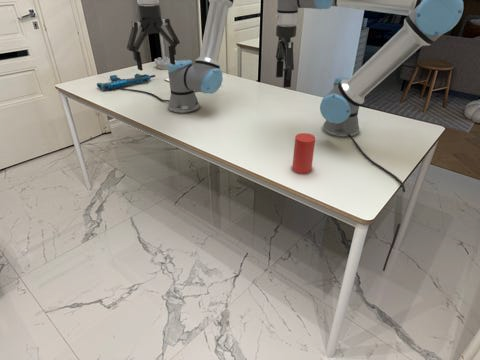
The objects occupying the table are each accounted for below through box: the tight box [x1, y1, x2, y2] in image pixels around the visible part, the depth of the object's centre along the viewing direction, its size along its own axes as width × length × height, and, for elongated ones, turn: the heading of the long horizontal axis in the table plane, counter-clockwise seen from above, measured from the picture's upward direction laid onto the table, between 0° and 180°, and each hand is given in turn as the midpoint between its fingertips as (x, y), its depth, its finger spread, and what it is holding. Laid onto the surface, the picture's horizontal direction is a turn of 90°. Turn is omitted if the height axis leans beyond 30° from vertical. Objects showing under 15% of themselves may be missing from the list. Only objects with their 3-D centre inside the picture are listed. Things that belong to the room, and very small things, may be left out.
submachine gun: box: [96, 73, 156, 91], centre depth 208 cm, size 34×4×25 cm
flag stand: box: [154, 33, 170, 70], centre depth 230 cm, size 13×13×30 cm
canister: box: [291, 132, 316, 175], centre depth 119 cm, size 7×7×13 cm
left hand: (157, 66), depth 130 cm, fingers open, 13 cm apart
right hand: (283, 82), depth 138 cm, fingers open, 13 cm apart
